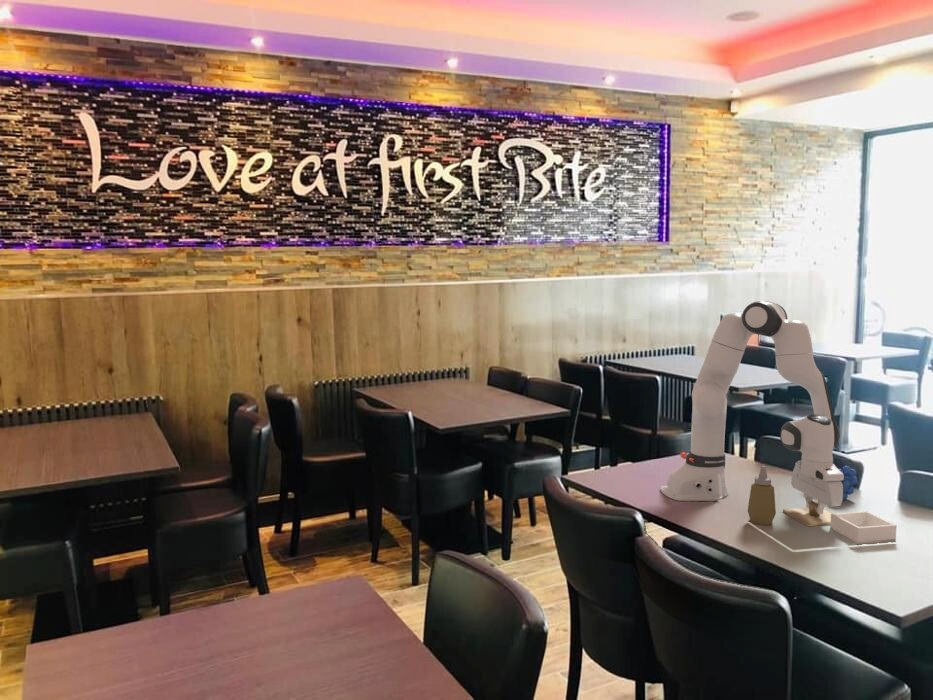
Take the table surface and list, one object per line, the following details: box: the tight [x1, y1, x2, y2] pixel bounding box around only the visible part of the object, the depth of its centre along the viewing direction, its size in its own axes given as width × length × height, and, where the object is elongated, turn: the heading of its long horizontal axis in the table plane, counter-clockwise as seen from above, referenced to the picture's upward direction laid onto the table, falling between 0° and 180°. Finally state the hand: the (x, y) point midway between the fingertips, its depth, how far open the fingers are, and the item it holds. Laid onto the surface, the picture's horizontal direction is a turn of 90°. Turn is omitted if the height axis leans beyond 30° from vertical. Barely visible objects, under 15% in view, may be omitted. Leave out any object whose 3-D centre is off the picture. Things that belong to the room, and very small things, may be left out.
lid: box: [782, 500, 834, 527], centre depth 226 cm, size 13×13×5 cm
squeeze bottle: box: [747, 465, 777, 526], centre depth 222 cm, size 8×8×18 cm
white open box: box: [829, 510, 897, 546], centre depth 212 cm, size 12×12×5 cm
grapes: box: [838, 465, 859, 501], centre depth 243 cm, size 12×7×12 cm, turn 110°
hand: (814, 510), depth 226 cm, fingers closed on lid, 3 cm apart
